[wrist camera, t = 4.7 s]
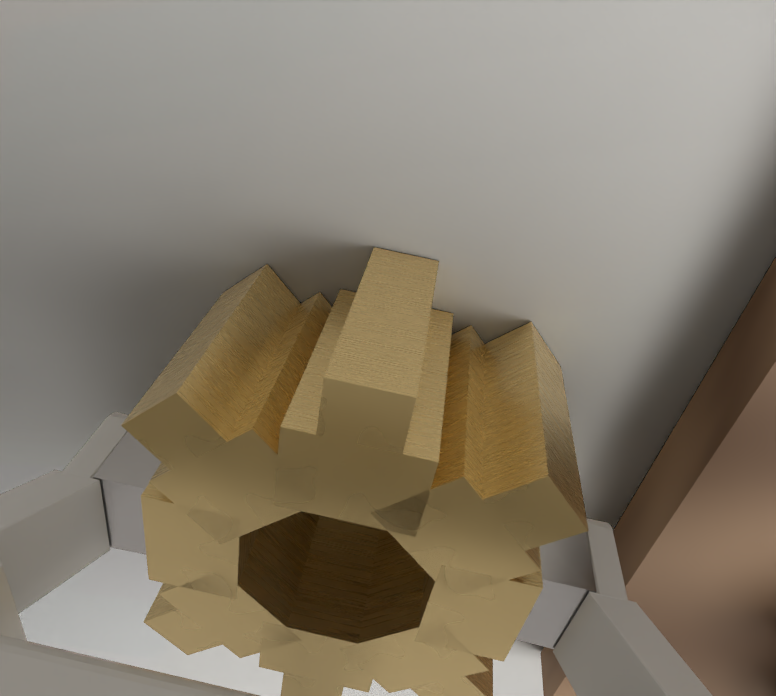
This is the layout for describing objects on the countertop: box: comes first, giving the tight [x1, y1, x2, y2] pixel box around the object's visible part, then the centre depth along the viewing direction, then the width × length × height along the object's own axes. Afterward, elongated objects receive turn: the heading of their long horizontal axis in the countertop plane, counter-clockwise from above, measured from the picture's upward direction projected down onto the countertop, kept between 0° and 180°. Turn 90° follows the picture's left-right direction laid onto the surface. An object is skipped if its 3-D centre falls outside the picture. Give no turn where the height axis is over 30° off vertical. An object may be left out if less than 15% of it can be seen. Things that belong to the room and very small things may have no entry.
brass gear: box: [121, 247, 589, 696], centre depth 12 cm, size 8×7×4 cm
